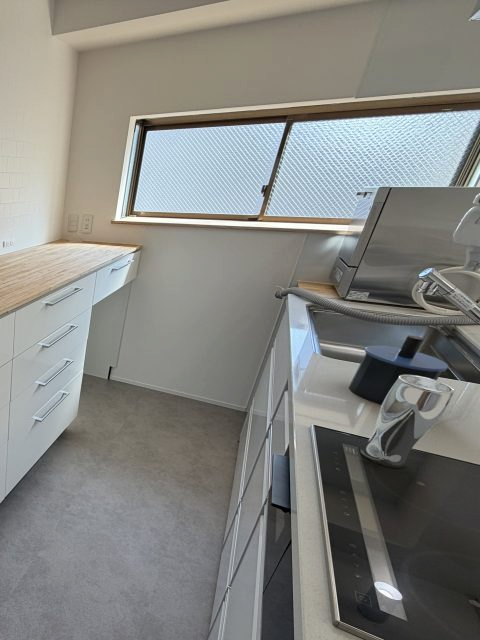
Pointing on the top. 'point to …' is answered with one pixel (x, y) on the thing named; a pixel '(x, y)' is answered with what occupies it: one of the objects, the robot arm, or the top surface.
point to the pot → (381, 378)
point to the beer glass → (406, 418)
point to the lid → (407, 355)
